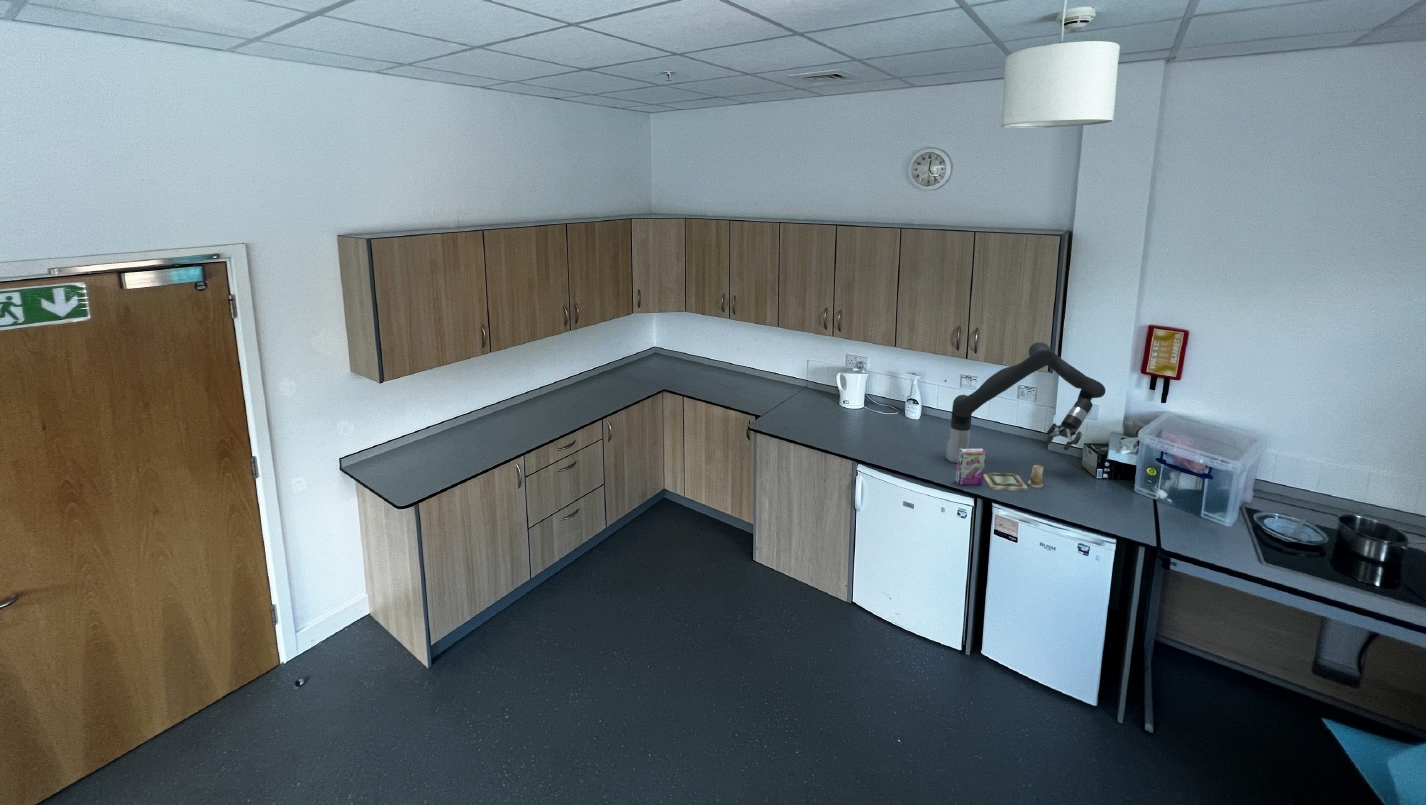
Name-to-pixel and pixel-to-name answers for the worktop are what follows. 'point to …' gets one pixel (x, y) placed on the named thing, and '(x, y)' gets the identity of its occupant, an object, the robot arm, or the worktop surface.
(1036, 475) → the beech bobbin
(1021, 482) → the picture frame
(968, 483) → the candy bar box
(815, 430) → the worktop surface
